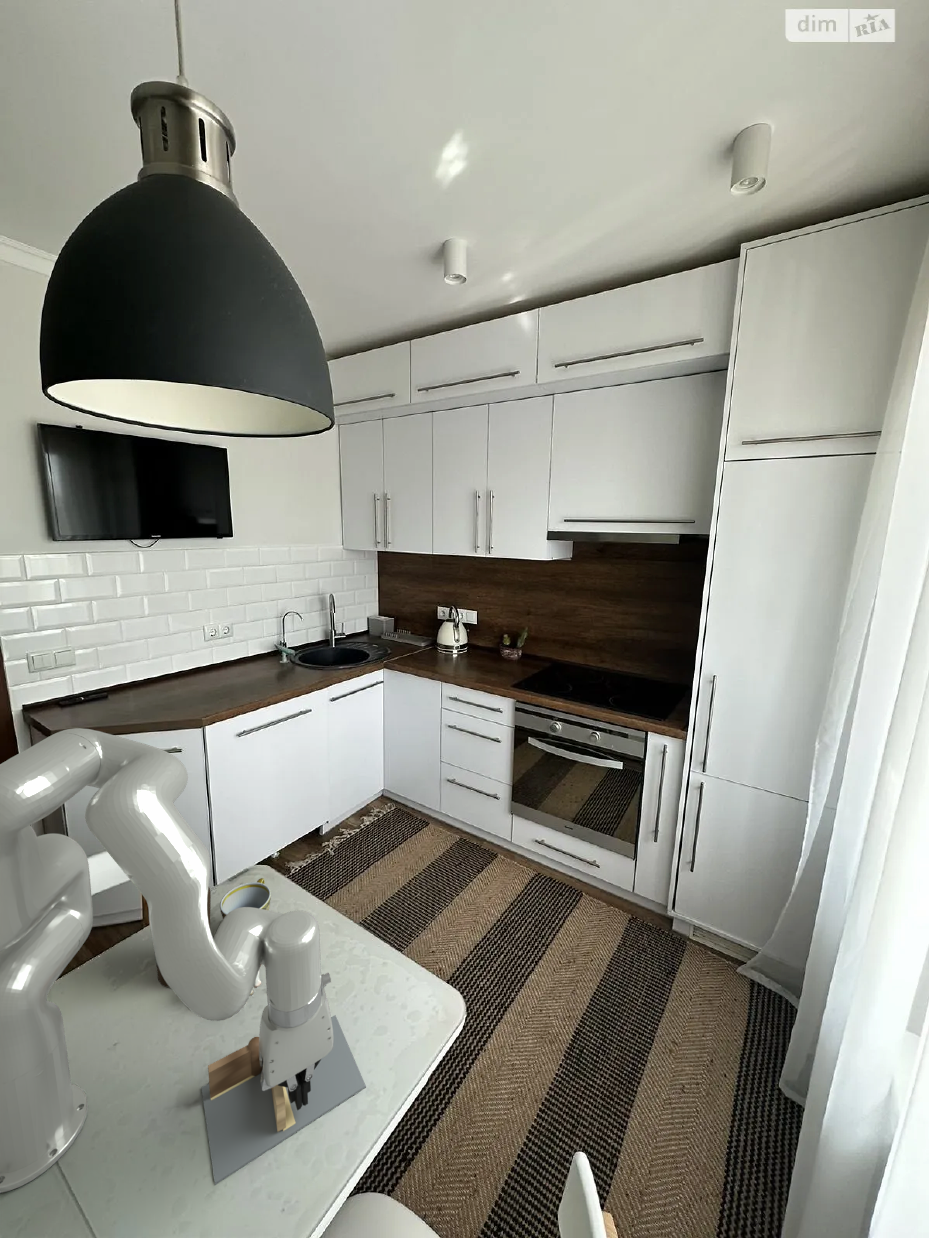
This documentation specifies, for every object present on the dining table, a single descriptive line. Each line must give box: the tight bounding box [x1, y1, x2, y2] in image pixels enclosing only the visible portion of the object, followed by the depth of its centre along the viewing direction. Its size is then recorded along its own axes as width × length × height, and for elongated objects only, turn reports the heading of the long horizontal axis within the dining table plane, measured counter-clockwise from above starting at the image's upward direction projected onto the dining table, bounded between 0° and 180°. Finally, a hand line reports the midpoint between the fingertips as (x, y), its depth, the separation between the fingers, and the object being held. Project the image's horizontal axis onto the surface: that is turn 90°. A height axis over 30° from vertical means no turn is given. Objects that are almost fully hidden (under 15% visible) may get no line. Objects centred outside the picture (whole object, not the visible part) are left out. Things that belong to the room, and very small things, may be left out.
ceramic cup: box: [219, 877, 272, 920], centre depth 107 cm, size 13×10×10 cm
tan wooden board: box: [271, 1085, 286, 1132], centre depth 78 cm, size 12×2×5 cm, turn 29°
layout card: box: [200, 1014, 367, 1186], centre depth 79 cm, size 22×14×1 cm, turn 124°
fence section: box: [207, 1036, 263, 1098], centre depth 79 cm, size 8×2×5 cm, turn 124°
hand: (299, 1098), depth 75 cm, fingers closed
